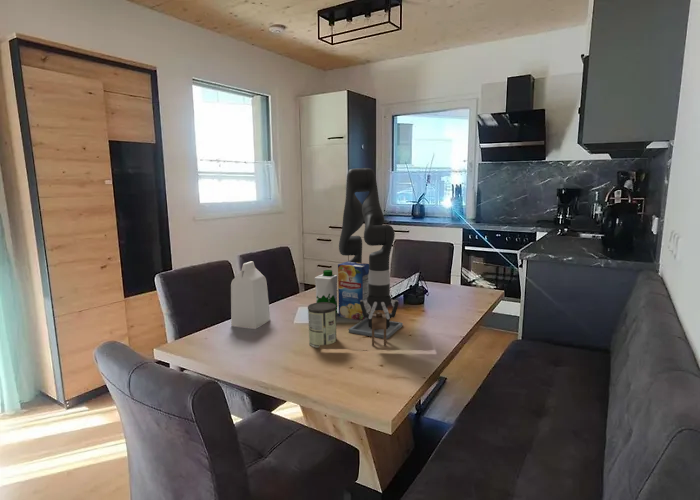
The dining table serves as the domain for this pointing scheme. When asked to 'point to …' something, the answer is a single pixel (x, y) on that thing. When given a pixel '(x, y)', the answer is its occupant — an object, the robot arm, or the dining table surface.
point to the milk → (249, 298)
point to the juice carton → (352, 289)
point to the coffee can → (322, 323)
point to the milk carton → (326, 288)
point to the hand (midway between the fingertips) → (379, 328)
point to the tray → (364, 329)
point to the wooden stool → (379, 325)
